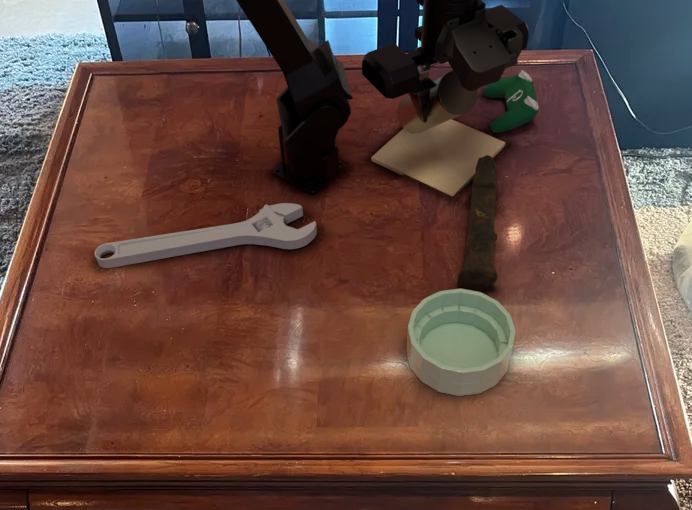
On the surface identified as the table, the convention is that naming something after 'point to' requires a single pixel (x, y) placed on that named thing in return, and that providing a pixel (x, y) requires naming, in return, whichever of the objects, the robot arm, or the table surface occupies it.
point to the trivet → (438, 155)
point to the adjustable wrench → (214, 238)
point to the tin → (438, 104)
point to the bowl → (460, 341)
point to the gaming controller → (513, 101)
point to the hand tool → (481, 230)
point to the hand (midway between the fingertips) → (441, 113)
